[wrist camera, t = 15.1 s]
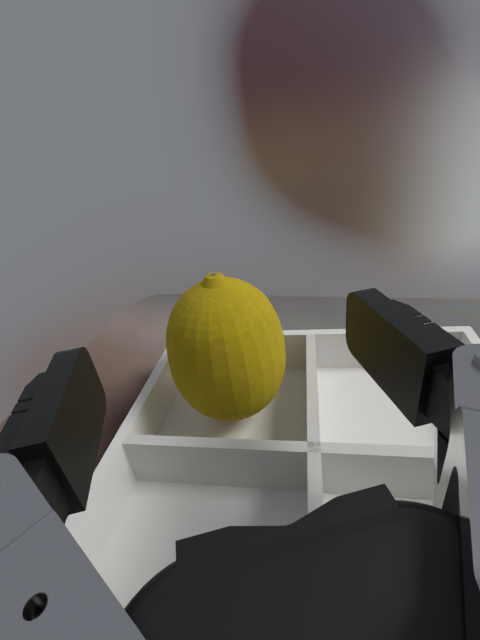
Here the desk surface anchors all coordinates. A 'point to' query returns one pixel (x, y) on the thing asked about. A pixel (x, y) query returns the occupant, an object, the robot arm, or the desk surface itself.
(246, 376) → the lemon
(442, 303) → the desk surface
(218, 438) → the divided tray
